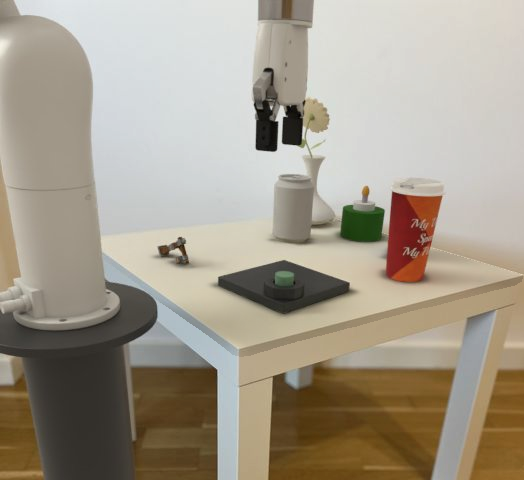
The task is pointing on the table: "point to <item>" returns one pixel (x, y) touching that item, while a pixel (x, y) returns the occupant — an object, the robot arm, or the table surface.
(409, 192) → the coffee cup
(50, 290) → the robot arm
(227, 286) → the dark grey flat block
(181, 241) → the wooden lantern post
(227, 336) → the table surface
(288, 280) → the button
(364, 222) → the candle
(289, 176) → the can
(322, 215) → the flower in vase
